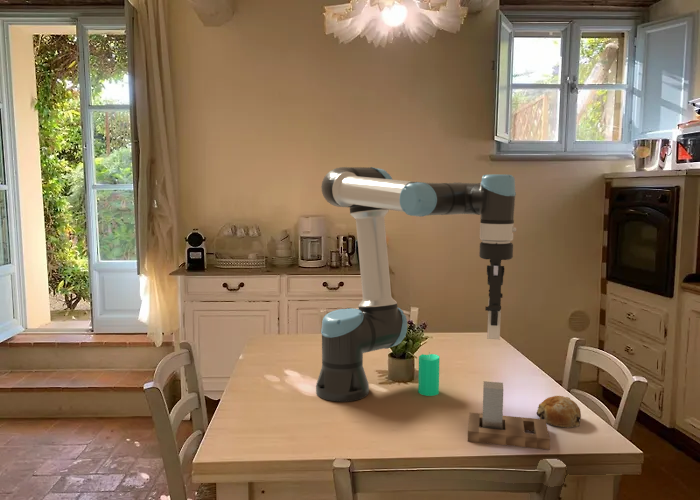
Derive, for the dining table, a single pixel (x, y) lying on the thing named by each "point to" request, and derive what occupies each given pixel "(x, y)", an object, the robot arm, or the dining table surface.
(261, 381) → the dining table surface
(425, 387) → the candle
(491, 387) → the square bit
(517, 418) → the socket block
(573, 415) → the bread roll
